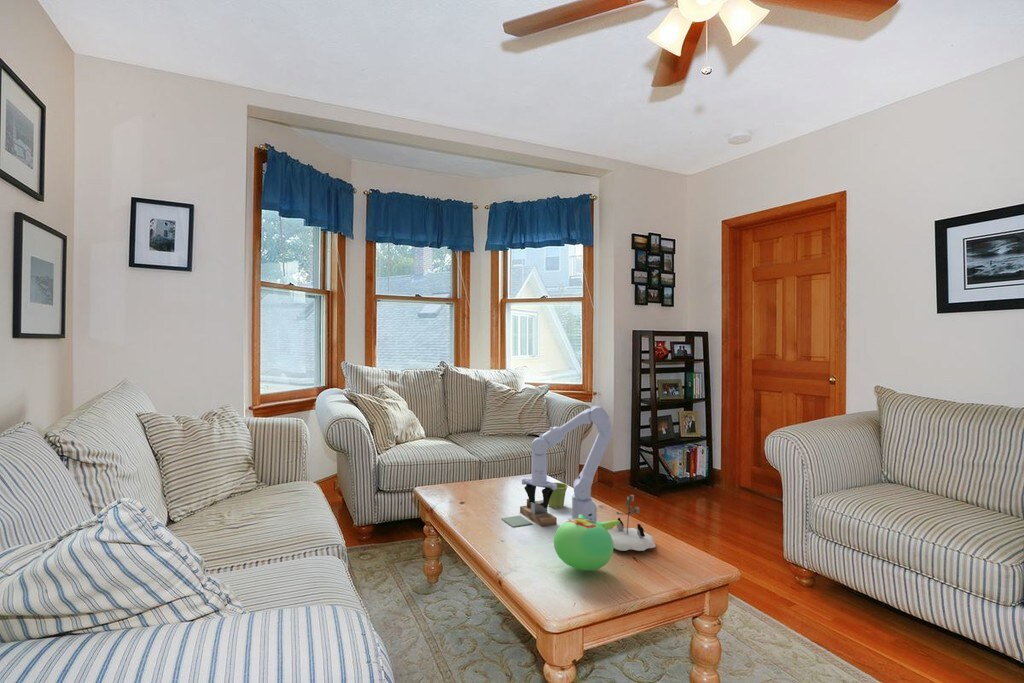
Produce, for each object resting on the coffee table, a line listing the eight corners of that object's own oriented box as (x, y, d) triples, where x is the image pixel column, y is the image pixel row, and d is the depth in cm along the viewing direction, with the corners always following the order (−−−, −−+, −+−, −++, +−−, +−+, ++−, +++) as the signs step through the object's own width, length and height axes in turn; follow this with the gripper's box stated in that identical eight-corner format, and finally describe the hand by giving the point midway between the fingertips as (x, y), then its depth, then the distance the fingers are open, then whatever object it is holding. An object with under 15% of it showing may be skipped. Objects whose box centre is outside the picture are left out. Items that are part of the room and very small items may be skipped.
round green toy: (543, 565, 159) (543, 516, 159) (578, 550, 171) (578, 504, 171) (591, 585, 146) (591, 531, 146) (626, 567, 158) (626, 517, 158)
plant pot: (568, 510, 213) (568, 488, 213) (545, 510, 213) (545, 488, 213) (566, 503, 222) (566, 482, 222) (544, 503, 222) (544, 482, 222)
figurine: (587, 536, 185) (587, 489, 185) (632, 529, 191) (632, 484, 191) (619, 557, 166) (619, 505, 166) (667, 549, 173) (667, 499, 173)
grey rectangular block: (547, 512, 201) (547, 502, 201) (534, 514, 199) (534, 504, 199) (543, 510, 204) (543, 500, 204) (530, 512, 202) (530, 501, 202)
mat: (532, 524, 196) (532, 523, 196) (512, 527, 192) (512, 526, 192) (520, 516, 205) (520, 515, 205) (501, 519, 201) (501, 518, 201)
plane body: (556, 524, 196) (556, 509, 196) (542, 526, 193) (542, 511, 193) (533, 510, 212) (533, 496, 212) (520, 512, 209) (520, 498, 209)
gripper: (561, 470, 201) (560, 506, 201) (528, 465, 209) (528, 500, 209) (551, 474, 195) (551, 511, 195) (518, 468, 203) (518, 504, 203)
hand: (539, 505), depth 202 cm, fingers closed on grey rectangular block, 5 cm apart
